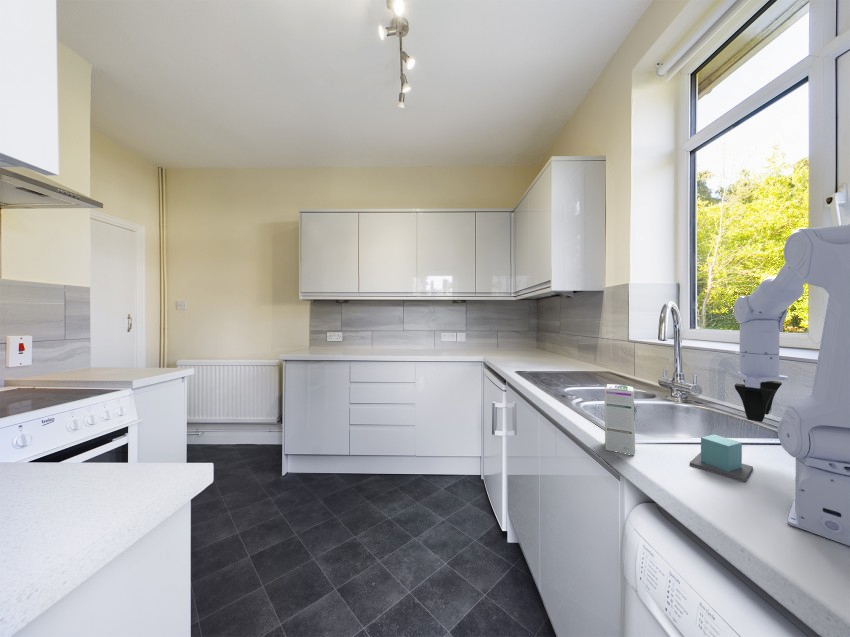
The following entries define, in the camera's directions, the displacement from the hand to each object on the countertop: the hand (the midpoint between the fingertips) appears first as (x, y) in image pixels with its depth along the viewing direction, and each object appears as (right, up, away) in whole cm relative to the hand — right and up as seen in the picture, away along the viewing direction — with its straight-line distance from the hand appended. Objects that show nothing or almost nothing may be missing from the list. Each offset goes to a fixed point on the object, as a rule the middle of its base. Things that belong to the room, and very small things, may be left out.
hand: (758, 416), depth 65 cm
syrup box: (-25, -10, +6) cm, 28 cm away
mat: (-10, -10, -3) cm, 14 cm away
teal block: (-10, -9, -3) cm, 14 cm away
